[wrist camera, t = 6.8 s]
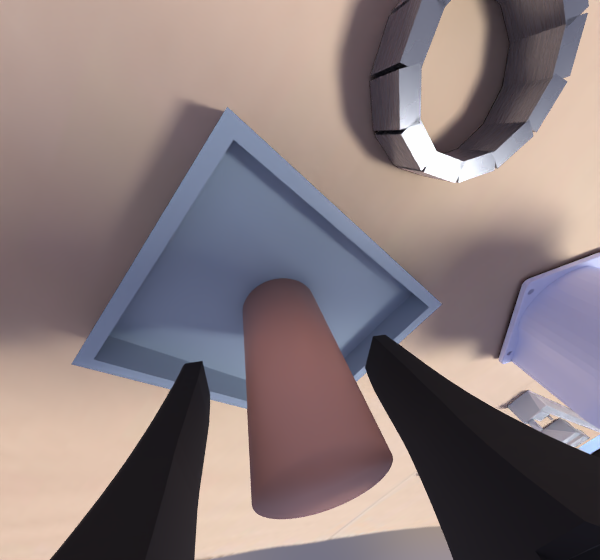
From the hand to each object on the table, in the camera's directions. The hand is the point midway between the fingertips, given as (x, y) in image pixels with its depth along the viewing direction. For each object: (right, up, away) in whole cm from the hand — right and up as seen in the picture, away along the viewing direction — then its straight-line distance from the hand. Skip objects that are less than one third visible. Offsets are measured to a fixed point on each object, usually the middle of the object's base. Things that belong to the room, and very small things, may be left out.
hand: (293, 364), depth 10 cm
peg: (-1, +2, +3) cm, 4 cm away
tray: (-1, +2, +4) cm, 4 cm away
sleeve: (+6, +12, 0) cm, 13 cm away
